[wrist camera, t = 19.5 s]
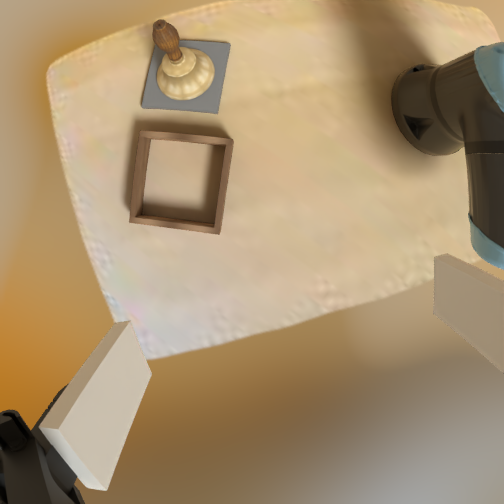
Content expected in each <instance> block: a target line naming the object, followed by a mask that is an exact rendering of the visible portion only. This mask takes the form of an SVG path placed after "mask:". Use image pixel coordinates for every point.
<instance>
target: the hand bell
mask: <svg viewBox="0 0 504 504" xmlns="http://www.w3.org/2000/svg"><path fill="white" fill-rule="evenodd" d="M153 40H154V42H155V44H156V45H157V47H158V48H160V49H161V50H162V51H164V52H166V54H165V56H164V57H163V59H162V63H161V65H160V66H159V69H158V72H157V84H158V86H159V89H160V90H161V91H162V93H164V94H165V95H166V96H167V97H169V98H171V99H174V100H190V99H193V98H196V97H198V96H200V95H201V94H203V93H204V92H205V91H206V90H207V89H208V88H209V87H210V85H211V83H212V81H213V79H214V75H215V68H214V64H213V62H212V60H211V58H210V57H209V56H208V55H207V54H205V53H204V52H202V51H200V50H197V49H188V48H186V47H178V45H179V35H178V32H177V30H176V29H175V27H174V26H172V25H171V24H169V23H167V22H166V21H164V20H157V21H156V22H155V23H154V24H153Z"/></svg>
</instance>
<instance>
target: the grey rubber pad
mask: <svg viewBox="0 0 504 504" xmlns="http://www.w3.org/2000/svg"><path fill="white" fill-rule="evenodd" d="M230 46H231V45H230V43H219V42H206V41H186V40H179V45H178V47H186V48H188V49H197V50H200V51H202V52H204V53H205V54H207V55H208V56H209V57H210V58H211V60H212V62H213V64H214V68H215V75H214V79H213V81H212V83H211V85H210V87H209V88H208V89H207V90H206V91H205V92H204V93H203V94H201V95H200V96H198V97H196V98H193V99H190V100H174V99H171V98H169V97H167V96H166V95H165V94H164V93H162V91H161V90H160V89H159V86H158V84H157V72H158V69H159V66H160V65H161V63H162V59H163V57H164V56H165V54H166V52H164V51H162V50H161V49H160V48H158V47H157V45H156V44H155V48H154V52H153V56H152V60H151V64H150V69H149V73H148V78H147V82H146V87H145V92H144V97H143V102H142V108H146V109H166V110H181V111H193V112H204V113H214V114H218V110H219V104H220V99H221V93H222V88H223V82H224V77H225V71H226V66H227V61H228V56H229V51H230Z"/></svg>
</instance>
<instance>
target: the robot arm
mask: <svg viewBox="0 0 504 504" xmlns="http://www.w3.org/2000/svg"><path fill="white" fill-rule="evenodd" d="M392 109H393V113H394V117H395V120H396V122H397V124H398V127H399V128H400V130H401V132H402V133H403V135H404V136H405V138H406V139H407V140H408V141H409V142H410V143H411V144H412V145H413V146H414V147H415V148H417V149H418V150H420V151H422V152H424V153H426V154H429V155H434V156H441V155H450V154H453V153H455V152H457V151H459V150H460V149H461V148H463V147H464V146H465V155H466V164H467V175H468V191H469V213H468V218H469V222H470V232H471V243H472V246H473V248H474V250H475V251H476V252H477V254H478V255H479V256H480V257H481V258H482V259H484V260H485V261H487V262H488V263H490V264H492V265H494V266H496V267H498V268H501V269H504V154H476V153H504V42H499V43H495V44H491V45H488V46H480V47H478V48H477V49H476V50H474V51H472V52H470V53H467V54H465V55H463V56H461V57H459V58H457V59H454V60H452V61H450V62H448V63H446V64H444V65H430V64H421V65H416V66H414V67H411V68H410V69H408V70H406V71H404V72H403V73H402V74H401V75H400V76H399V77H398V78H397V80H396V82H395V84H394V87H393V91H392ZM433 314H435V315H436V316H437V317H438V318H440V319H441V320H442V321H443V322H444V323H446V324H447V325H448V326H449V327H450V328H452V329H453V330H454V331H455V332H457V333H458V334H459V335H460V336H461V337H463V338H464V339H465V340H466V341H467V342H468V343H470V344H471V345H472V346H473V347H474V348H475V349H476V350H478V351H479V352H480V353H481V354H482V355H483V356H485V357H486V358H487V359H488V360H489V361H490V362H491V363H492V364H493V365H495V366H496V367H497V368H498V369H499V370H500V371H501V372H502V373H504V281H503V280H501V279H499V278H497V277H495V276H493V275H491V274H489V273H487V272H485V271H483V270H481V269H479V268H477V267H475V266H473V265H471V264H469V263H466V262H464V261H462V260H460V259H458V258H456V257H453V256H451V255H449V254H444V255H440V256H436V257H434V311H433ZM151 375H152V373H151V371H150V369H149V366H148V364H147V361H146V359H145V356H144V354H143V352H142V349H141V347H140V344H139V341H138V339H137V336H136V334H135V331H134V328H133V326H132V323H131V321H124V322H118V323H115V324H114V325H113V326H112V328H111V329H110V330H109V331H108V333H107V334H106V336H105V337H104V338H103V339H102V340H101V342H100V343H99V344H98V346H97V347H96V348H95V350H94V351H93V352H92V353H91V355H90V356H89V358H88V359H87V360H86V361H85V363H84V364H83V365H82V367H81V368H80V369H79V371H78V372H77V373H76V375H75V376H74V378H73V379H72V380H71V382H70V383H69V384H67V385H66V386H65V387H64V388H63V389H61V390H60V391H59V392H58V393H57V395H56V396H55V398H54V399H53V402H51V403H50V405H49V406H48V409H46V410H45V412H44V413H43V414H42V416H41V417H40V419H39V420H38V421H37V423H36V424H35V426H34V427H33V429H32V430H30V429H29V428H28V426H27V425H26V423H25V422H24V421H23V419H22V417H21V416H20V414H19V413H18V412H17V411H15V410H6V411H2V412H1V413H0V504H85V502H84V500H83V498H82V496H81V494H80V491H79V490H78V489H77V487H76V486H75V485H74V483H75V481H76V478H77V477H78V478H79V479H80V480H81V482H82V483H83V484H84V485H85V486H86V487H87V488H92V489H98V490H105V491H107V489H108V486H109V483H110V480H111V478H112V474H113V472H114V469H115V467H116V464H117V461H118V459H119V456H120V453H121V451H122V448H123V445H124V443H125V440H126V437H127V434H128V432H129V430H130V427H131V425H132V422H133V419H134V417H135V414H136V412H137V409H138V407H139V404H140V402H141V399H142V397H143V394H144V392H145V390H146V387H147V385H148V382H149V380H150V377H151Z"/></svg>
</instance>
